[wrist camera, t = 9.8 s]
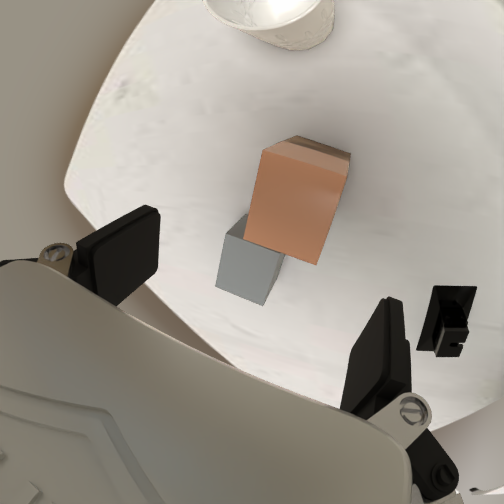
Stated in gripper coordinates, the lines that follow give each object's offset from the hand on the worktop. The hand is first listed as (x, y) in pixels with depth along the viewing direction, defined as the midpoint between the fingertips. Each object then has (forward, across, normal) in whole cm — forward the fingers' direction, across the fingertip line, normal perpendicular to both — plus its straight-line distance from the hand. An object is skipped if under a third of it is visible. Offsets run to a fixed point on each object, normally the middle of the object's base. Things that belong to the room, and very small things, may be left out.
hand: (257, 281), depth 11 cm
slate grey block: (+18, +4, +9) cm, 20 cm away
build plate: (+19, -18, +9) cm, 28 cm away
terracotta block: (+12, +1, 0) cm, 13 cm away
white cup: (+18, +6, -14) cm, 23 cm away
